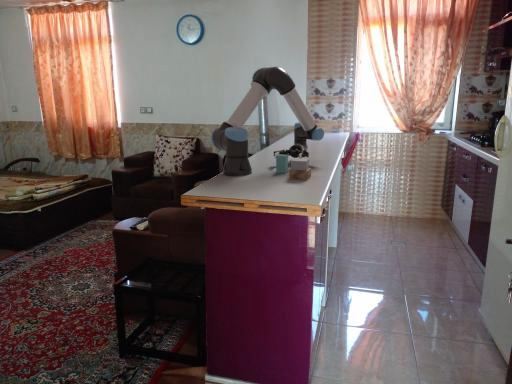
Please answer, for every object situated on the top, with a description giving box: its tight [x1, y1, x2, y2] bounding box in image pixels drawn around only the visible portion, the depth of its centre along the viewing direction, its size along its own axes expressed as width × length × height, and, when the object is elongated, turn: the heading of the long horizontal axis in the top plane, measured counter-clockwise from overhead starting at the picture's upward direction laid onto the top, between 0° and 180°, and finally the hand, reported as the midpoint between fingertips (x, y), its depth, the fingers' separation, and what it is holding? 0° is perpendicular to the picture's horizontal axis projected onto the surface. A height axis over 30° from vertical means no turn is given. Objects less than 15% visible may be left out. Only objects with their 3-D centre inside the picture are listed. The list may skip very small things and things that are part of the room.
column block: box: [275, 154, 289, 174], centre depth 208 cm, size 5×5×9 cm
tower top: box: [290, 158, 310, 171], centre depth 194 cm, size 8×8×4 cm
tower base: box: [288, 167, 312, 181], centre depth 195 cm, size 9×9×4 cm
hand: (287, 156), depth 216 cm, fingers open, 13 cm apart
